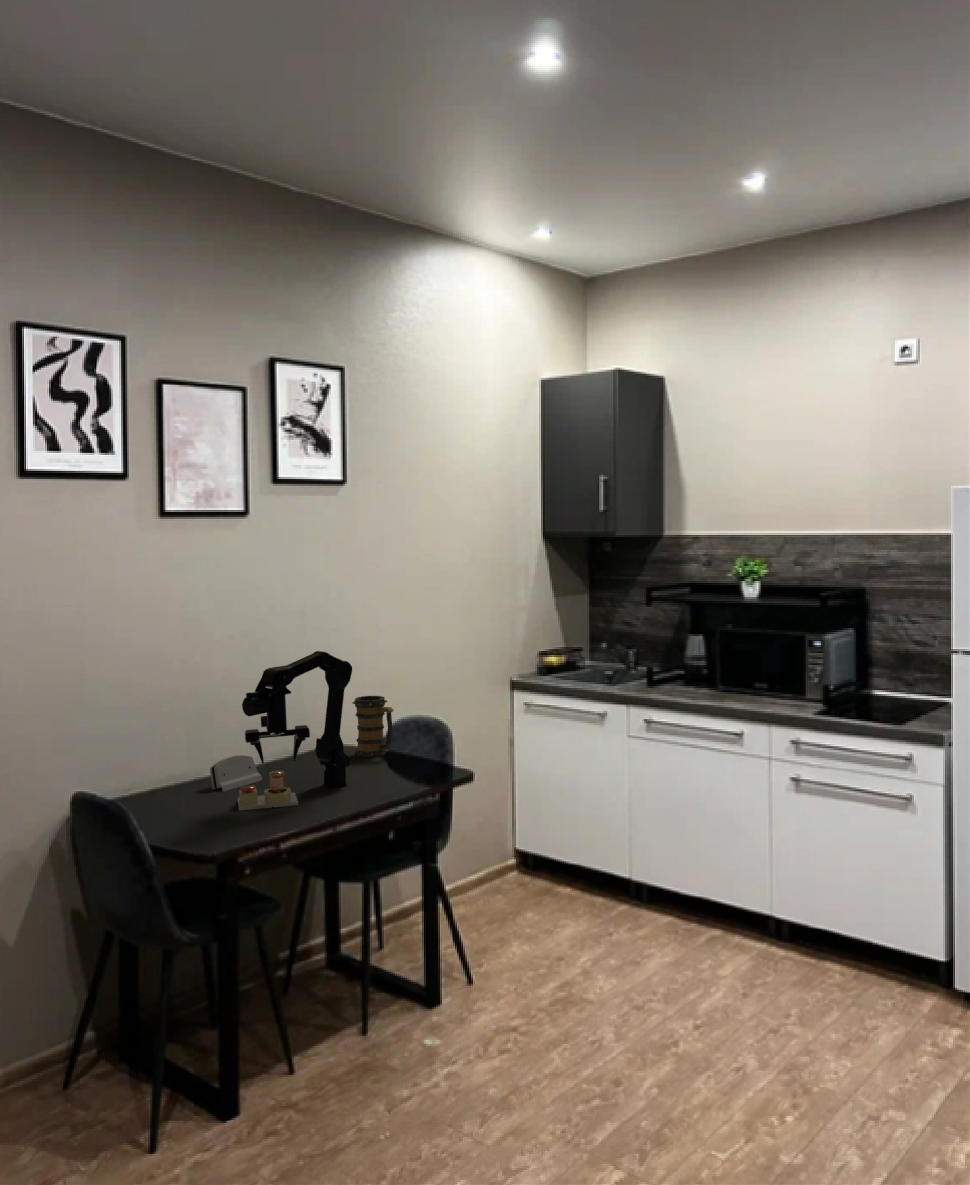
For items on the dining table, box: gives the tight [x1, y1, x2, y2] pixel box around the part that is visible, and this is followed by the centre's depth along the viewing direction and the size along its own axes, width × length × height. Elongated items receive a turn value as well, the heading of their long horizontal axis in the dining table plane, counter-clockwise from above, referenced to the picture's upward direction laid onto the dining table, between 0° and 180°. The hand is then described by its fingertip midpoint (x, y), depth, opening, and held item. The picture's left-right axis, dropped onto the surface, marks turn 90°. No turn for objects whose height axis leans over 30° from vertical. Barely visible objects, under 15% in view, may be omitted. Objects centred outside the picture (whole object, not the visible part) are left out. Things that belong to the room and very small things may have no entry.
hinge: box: [209, 755, 263, 792], centre depth 330 cm, size 17×5×10 cm, turn 144°
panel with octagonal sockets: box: [237, 784, 299, 811], centre depth 307 cm, size 17×11×5 cm, turn 105°
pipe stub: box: [268, 770, 286, 793], centre depth 308 cm, size 5×5×8 cm
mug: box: [351, 695, 395, 758], centre depth 367 cm, size 13×17×20 cm
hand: (278, 762), depth 309 cm, fingers open, 9 cm apart
